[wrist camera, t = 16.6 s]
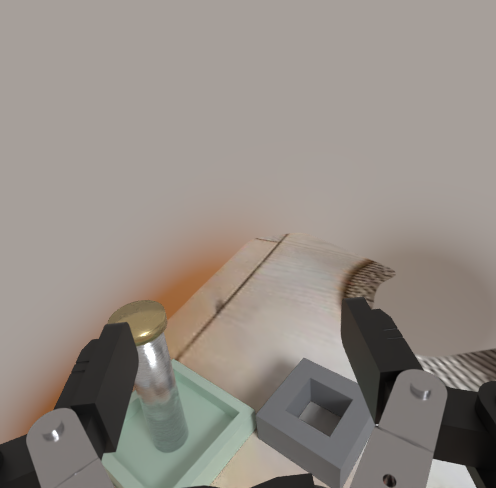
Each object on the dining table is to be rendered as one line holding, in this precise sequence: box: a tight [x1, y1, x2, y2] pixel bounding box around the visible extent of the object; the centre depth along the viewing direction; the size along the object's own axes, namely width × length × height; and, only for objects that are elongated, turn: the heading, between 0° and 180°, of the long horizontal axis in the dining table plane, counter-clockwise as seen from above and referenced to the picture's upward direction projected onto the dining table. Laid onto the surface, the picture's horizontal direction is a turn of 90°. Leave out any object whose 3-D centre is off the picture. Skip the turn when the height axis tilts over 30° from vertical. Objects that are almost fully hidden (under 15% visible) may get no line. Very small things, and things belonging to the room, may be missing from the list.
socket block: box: [256, 358, 376, 488], centre depth 41 cm, size 10×10×4 cm
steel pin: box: [108, 300, 189, 453], centre depth 38 cm, size 5×5×17 cm
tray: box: [101, 359, 257, 488], centre depth 42 cm, size 14×14×3 cm
